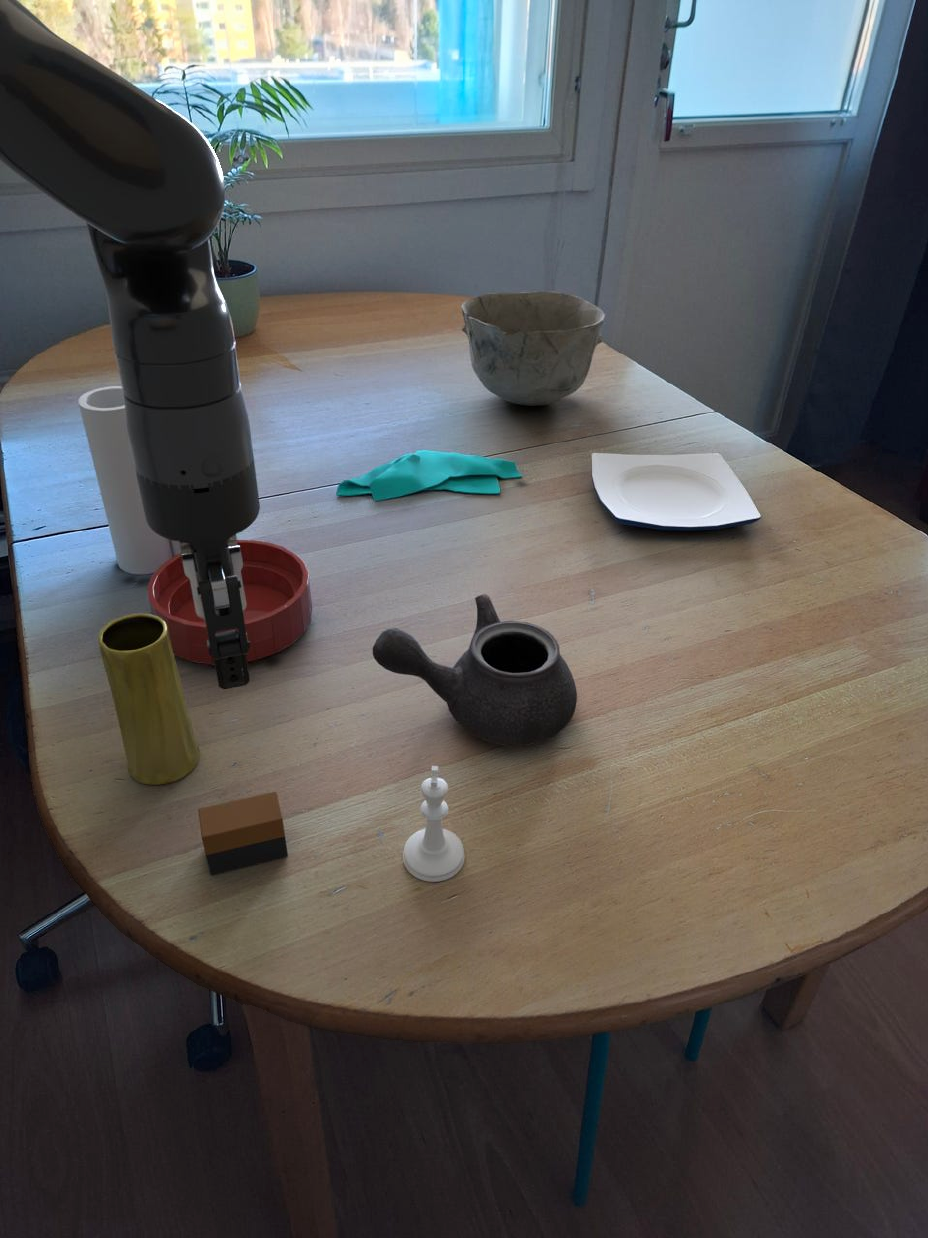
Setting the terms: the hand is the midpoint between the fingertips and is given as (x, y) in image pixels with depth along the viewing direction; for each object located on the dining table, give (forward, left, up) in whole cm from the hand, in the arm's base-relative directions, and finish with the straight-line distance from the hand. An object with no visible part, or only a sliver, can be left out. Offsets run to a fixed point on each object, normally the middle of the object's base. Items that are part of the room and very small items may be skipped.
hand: (226, 649), depth 66 cm
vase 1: (-4, +40, -15) cm, 43 cm away
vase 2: (-7, +5, -15) cm, 17 cm away
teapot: (+22, +4, -15) cm, 27 cm away
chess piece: (+13, -12, -15) cm, 23 cm away
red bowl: (+2, +24, -15) cm, 28 cm away
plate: (+61, +35, -15) cm, 72 cm away
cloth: (+32, +51, -15) cm, 62 cm away
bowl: (+56, +73, -15) cm, 93 cm away
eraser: (-1, -7, -15) cm, 17 cm away
